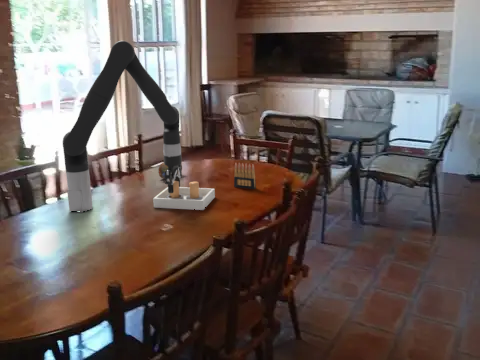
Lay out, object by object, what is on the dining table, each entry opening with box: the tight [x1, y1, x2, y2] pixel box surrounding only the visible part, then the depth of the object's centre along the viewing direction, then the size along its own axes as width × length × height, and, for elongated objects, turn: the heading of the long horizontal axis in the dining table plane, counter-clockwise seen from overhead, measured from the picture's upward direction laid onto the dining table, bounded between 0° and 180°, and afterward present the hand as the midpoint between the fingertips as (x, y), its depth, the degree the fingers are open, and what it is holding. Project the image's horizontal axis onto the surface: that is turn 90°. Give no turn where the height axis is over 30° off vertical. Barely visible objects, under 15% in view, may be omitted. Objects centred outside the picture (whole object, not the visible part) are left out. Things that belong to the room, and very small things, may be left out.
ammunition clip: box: [233, 162, 257, 190], centre depth 255 cm, size 11×2×12 cm, turn 64°
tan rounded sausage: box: [170, 180, 179, 198], centre depth 237 cm, size 4×4×8 cm
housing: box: [152, 181, 216, 211], centre depth 236 cm, size 18×22×9 cm
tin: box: [158, 162, 183, 180], centre depth 277 cm, size 15×3×8 cm, turn 143°
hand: (174, 189), depth 237 cm, fingers open, 8 cm apart
